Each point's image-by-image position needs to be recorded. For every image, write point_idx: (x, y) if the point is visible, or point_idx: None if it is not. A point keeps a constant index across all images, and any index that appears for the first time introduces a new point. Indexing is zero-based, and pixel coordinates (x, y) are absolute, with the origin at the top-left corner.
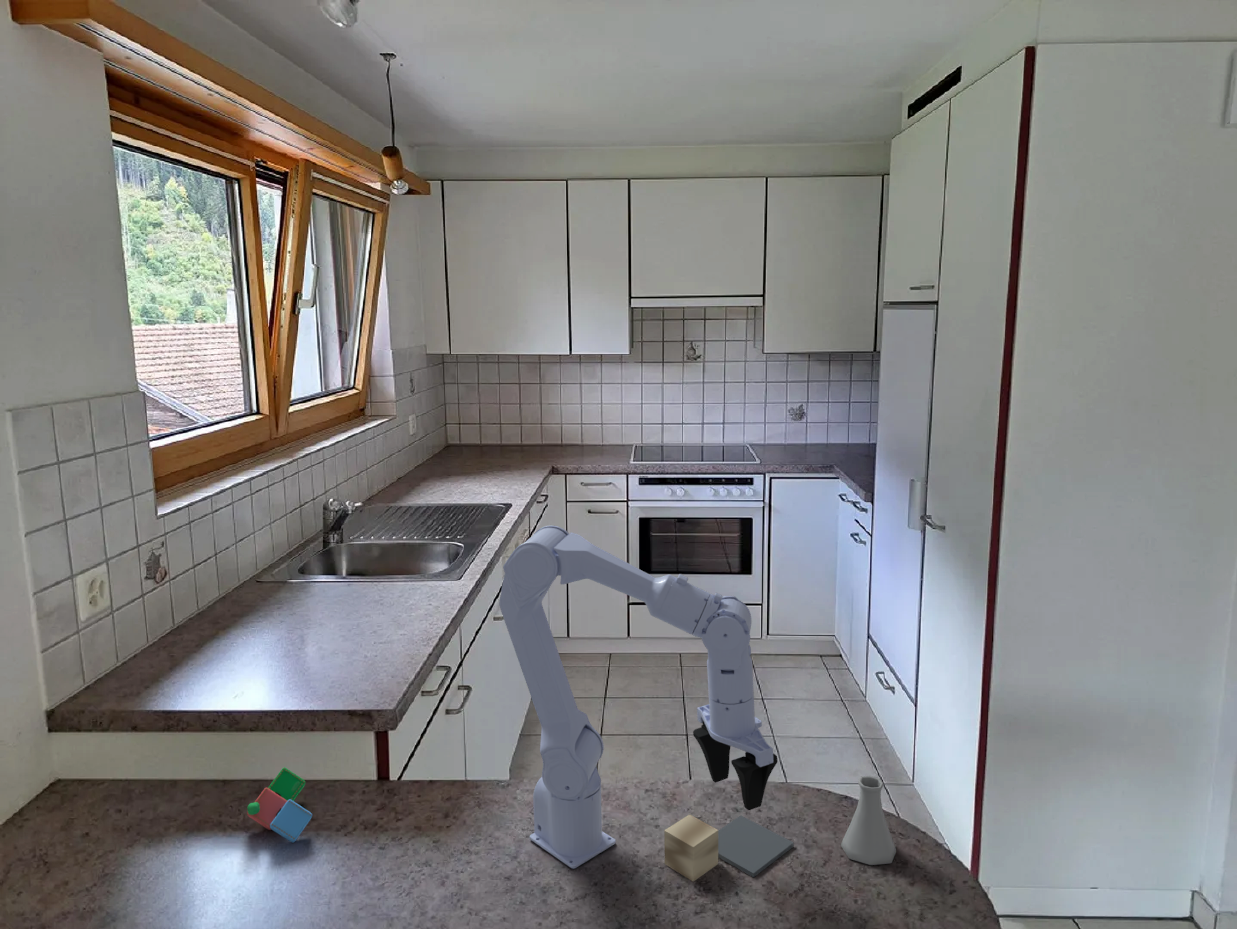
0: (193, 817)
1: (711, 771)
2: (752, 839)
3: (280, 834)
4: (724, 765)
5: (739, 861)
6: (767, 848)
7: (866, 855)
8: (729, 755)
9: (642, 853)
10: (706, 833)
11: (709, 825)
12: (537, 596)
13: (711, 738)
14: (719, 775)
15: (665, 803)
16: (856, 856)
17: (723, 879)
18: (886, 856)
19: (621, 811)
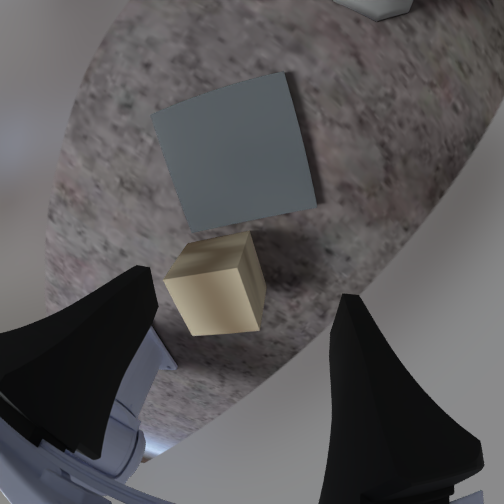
0: None
1: (141, 341)
2: (229, 140)
3: None
4: (125, 307)
5: (274, 206)
6: (271, 132)
7: (404, 6)
8: (98, 308)
9: (174, 303)
10: (235, 292)
11: (213, 272)
12: None
13: (82, 433)
14: (146, 306)
15: (78, 210)
16: (388, 14)
17: (289, 248)
18: None
19: (85, 272)
